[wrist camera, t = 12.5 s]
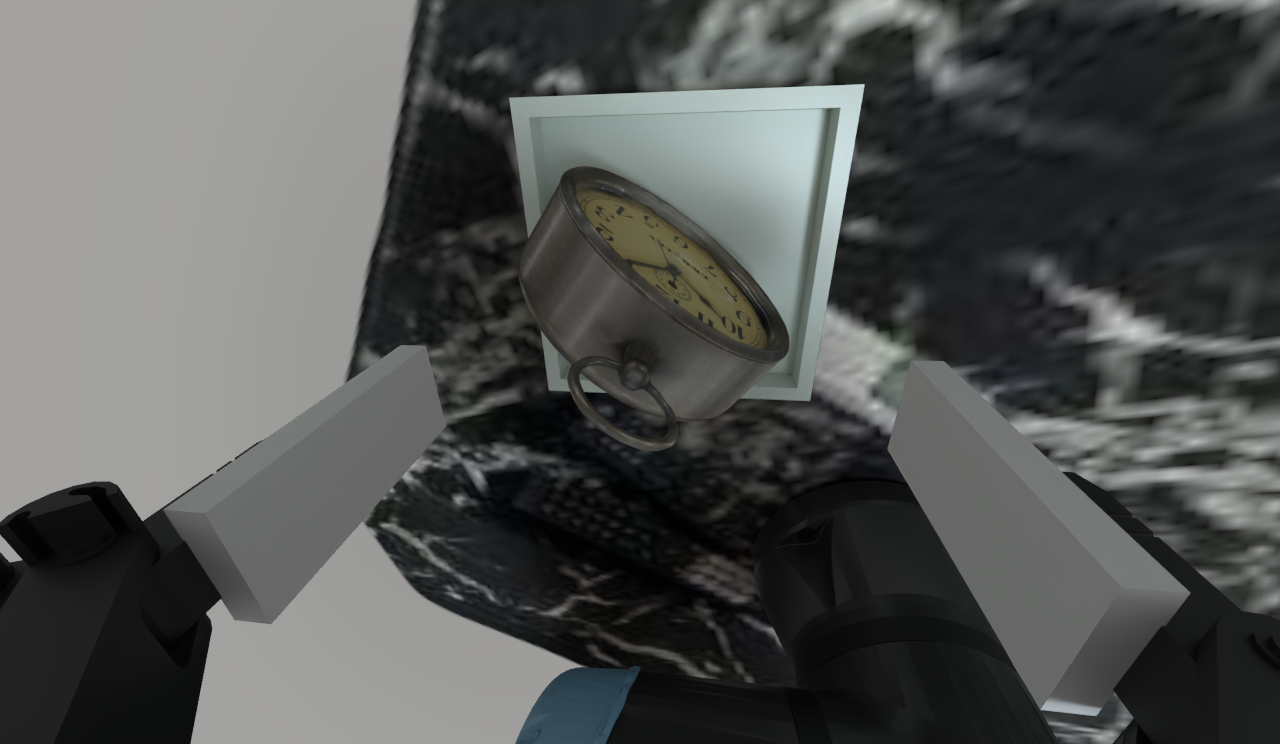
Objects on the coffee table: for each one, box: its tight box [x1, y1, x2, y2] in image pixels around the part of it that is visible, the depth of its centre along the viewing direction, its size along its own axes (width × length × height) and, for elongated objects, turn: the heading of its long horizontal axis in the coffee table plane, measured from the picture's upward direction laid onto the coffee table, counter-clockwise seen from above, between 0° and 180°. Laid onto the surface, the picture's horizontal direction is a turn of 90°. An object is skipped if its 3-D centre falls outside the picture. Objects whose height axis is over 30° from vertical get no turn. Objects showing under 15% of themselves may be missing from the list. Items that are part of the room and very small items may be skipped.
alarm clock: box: [518, 166, 789, 451], centre depth 18 cm, size 11×5×16 cm, turn 54°
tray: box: [509, 84, 865, 401], centre depth 24 cm, size 15×15×2 cm
